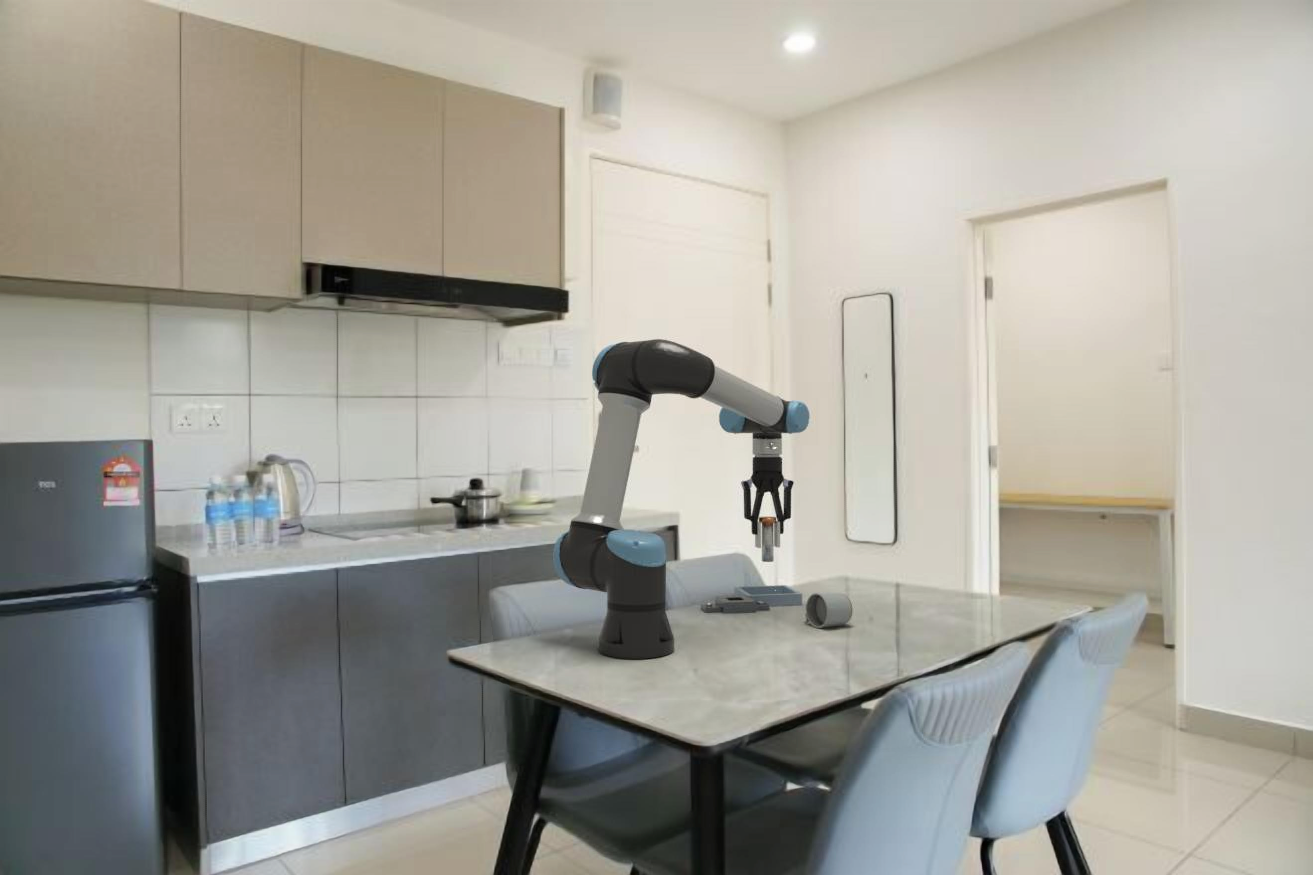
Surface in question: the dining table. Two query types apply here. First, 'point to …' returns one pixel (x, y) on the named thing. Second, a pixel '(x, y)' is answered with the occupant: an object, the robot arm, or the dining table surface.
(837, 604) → the ceramic mug
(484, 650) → the dining table surface
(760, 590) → the tray
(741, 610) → the grey holder base
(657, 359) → the robot arm
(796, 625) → the dining table surface
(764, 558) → the pin
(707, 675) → the dining table surface
